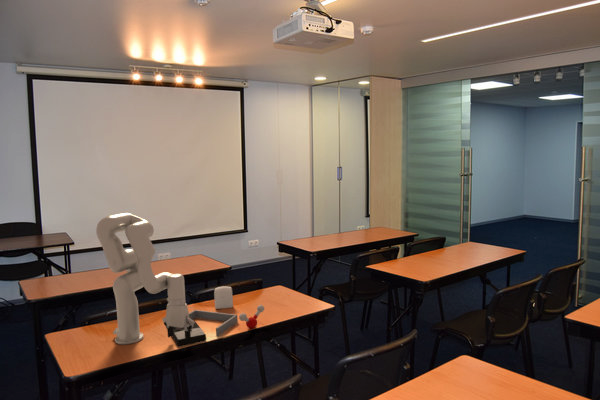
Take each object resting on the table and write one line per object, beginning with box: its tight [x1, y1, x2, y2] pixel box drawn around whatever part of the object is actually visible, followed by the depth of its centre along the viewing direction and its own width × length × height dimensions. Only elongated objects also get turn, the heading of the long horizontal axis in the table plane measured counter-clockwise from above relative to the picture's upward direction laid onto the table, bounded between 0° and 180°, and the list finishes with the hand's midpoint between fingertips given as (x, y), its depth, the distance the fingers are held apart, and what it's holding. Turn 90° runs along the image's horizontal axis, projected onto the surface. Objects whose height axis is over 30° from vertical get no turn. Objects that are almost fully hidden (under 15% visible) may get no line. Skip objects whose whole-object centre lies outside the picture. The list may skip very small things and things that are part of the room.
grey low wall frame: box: [189, 309, 239, 337], centre depth 220 cm, size 26×19×4 cm
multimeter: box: [171, 321, 207, 348], centre depth 207 cm, size 13×19×5 cm
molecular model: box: [238, 304, 265, 330], centre depth 215 cm, size 18×6×10 cm, turn 154°
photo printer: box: [213, 285, 234, 310], centre depth 247 cm, size 10×4×12 cm, turn 99°
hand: (179, 337), depth 198 cm, fingers open, 9 cm apart
